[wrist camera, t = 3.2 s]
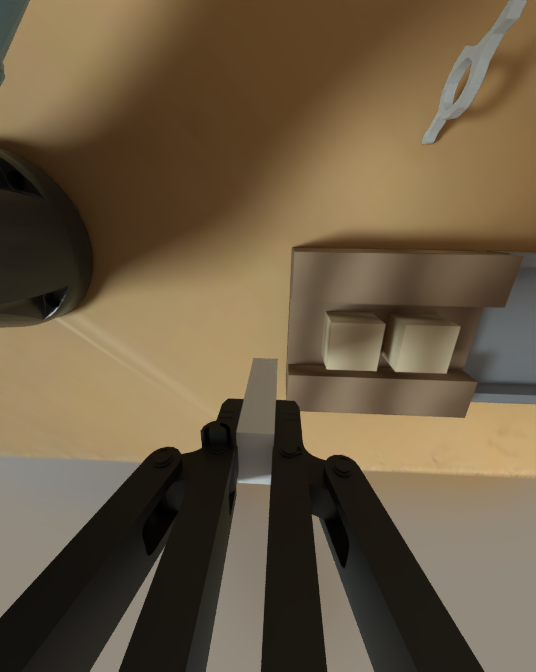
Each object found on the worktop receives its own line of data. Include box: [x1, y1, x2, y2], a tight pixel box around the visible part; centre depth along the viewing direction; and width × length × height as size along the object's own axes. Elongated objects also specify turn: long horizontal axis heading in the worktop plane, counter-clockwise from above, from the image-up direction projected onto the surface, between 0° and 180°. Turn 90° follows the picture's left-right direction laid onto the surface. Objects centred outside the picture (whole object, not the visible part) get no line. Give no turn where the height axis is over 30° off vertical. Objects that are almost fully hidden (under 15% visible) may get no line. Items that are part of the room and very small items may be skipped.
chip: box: [382, 313, 461, 374], centre depth 22 cm, size 4×4×3 cm
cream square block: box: [321, 311, 386, 371], centre depth 22 cm, size 4×4×3 cm
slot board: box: [286, 247, 524, 418], centre depth 24 cm, size 16×14×5 cm
